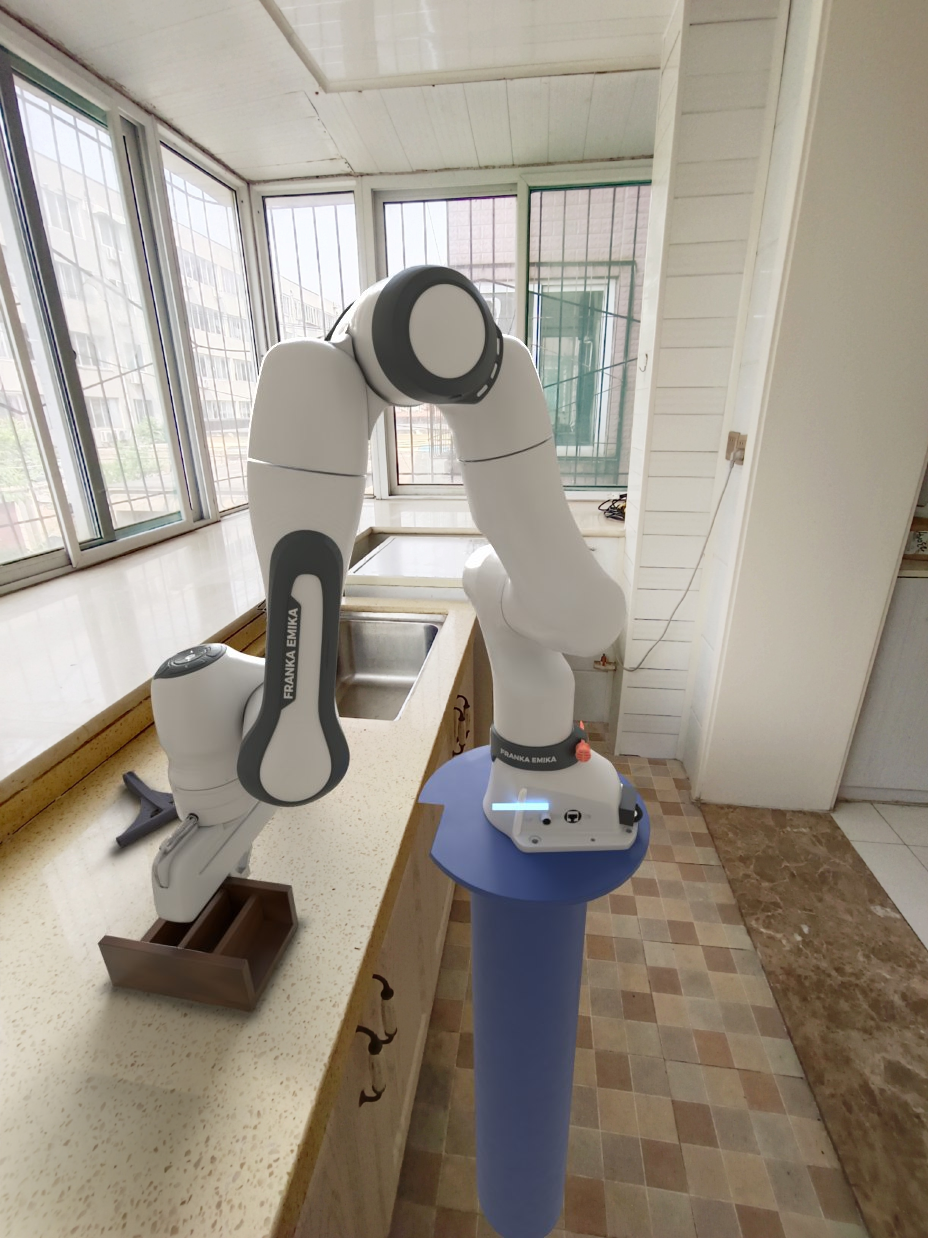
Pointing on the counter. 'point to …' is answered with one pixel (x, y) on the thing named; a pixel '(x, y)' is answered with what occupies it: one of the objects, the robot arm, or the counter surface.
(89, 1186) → the counter surface
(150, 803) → the bracket
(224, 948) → the rack
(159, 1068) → the counter surface
